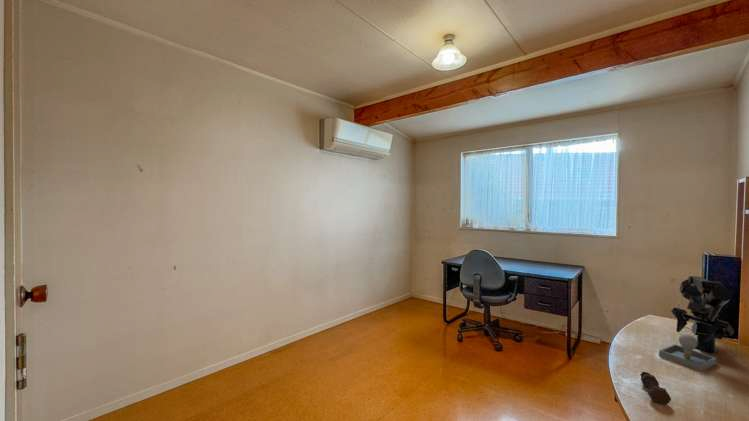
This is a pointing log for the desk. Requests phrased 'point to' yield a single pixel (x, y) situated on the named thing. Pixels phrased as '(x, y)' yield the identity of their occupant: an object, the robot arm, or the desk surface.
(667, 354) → the tray
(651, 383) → the dark brown lumpy piece
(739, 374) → the desk surface
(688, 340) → the light bulb
